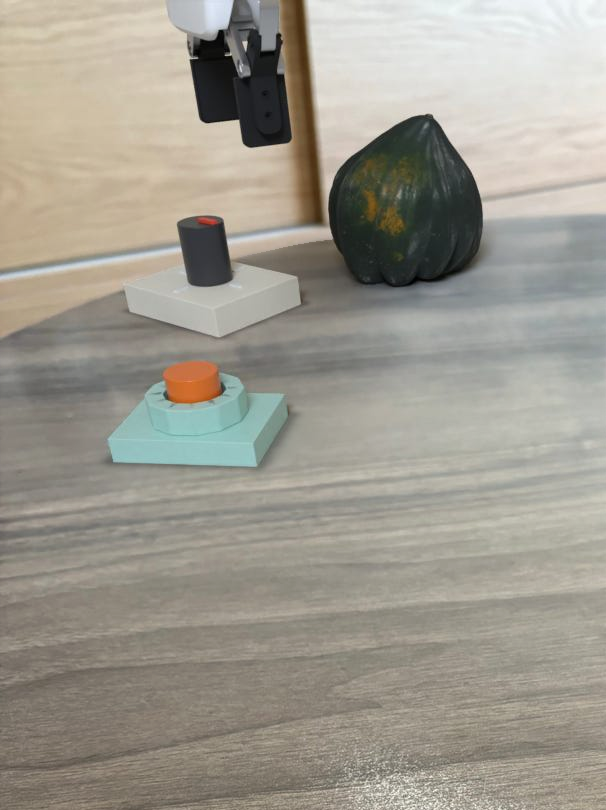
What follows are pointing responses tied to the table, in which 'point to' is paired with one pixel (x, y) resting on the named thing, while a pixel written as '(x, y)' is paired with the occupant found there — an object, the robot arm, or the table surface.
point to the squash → (406, 206)
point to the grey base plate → (213, 298)
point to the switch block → (200, 428)
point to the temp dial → (205, 250)
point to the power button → (192, 382)
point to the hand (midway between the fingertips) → (244, 132)
